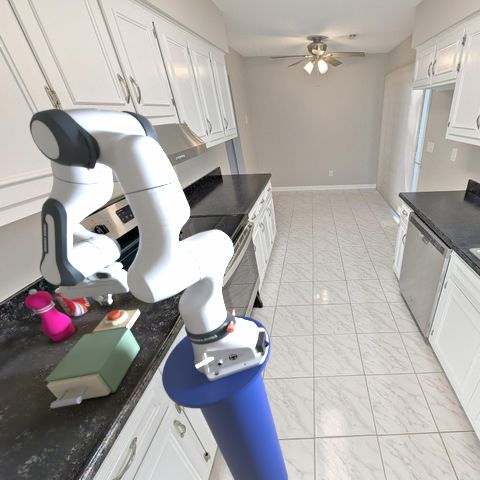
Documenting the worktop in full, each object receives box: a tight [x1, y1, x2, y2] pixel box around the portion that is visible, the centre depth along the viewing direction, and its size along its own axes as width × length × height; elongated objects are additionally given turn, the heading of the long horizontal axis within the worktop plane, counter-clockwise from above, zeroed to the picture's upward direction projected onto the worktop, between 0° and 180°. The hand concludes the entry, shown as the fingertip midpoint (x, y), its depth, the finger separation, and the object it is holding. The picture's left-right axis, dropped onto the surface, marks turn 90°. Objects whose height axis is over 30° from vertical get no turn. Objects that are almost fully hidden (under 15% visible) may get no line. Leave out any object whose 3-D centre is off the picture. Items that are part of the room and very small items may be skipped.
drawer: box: [46, 373, 111, 409], centre depth 70 cm, size 18×12×7 cm, turn 9°
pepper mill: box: [24, 288, 76, 342], centre depth 86 cm, size 7×7×20 cm
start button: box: [106, 309, 121, 320], centre depth 91 cm, size 4×4×2 cm
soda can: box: [54, 287, 91, 318], centre depth 98 cm, size 7×7×12 cm
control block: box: [92, 308, 141, 333], centre depth 93 cm, size 11×9×4 cm
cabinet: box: [45, 328, 141, 394], centre depth 74 cm, size 15×13×9 cm
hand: (107, 303), depth 89 cm, fingers closed
